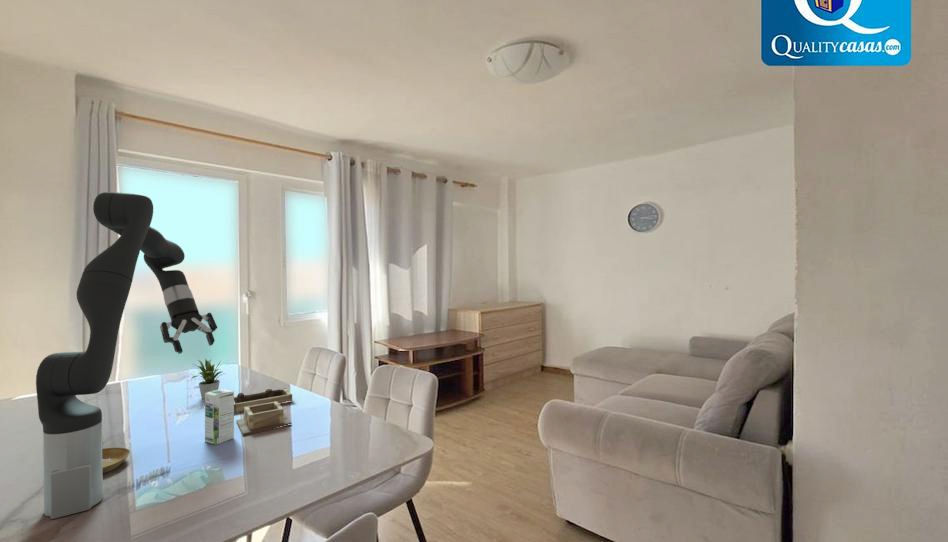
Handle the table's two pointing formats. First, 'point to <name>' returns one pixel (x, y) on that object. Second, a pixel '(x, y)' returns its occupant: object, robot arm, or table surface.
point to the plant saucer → (113, 457)
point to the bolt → (258, 395)
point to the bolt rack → (262, 401)
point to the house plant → (208, 378)
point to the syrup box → (219, 416)
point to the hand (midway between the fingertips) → (196, 348)
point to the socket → (262, 418)
